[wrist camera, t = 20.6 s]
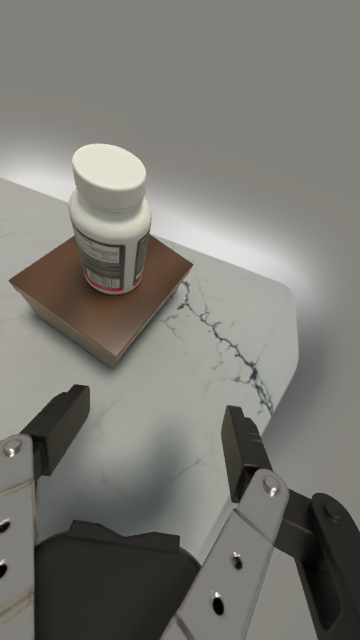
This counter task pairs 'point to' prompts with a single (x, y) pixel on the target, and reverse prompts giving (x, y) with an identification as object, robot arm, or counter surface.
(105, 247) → the pill bottle
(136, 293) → the stand
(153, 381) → the counter surface
